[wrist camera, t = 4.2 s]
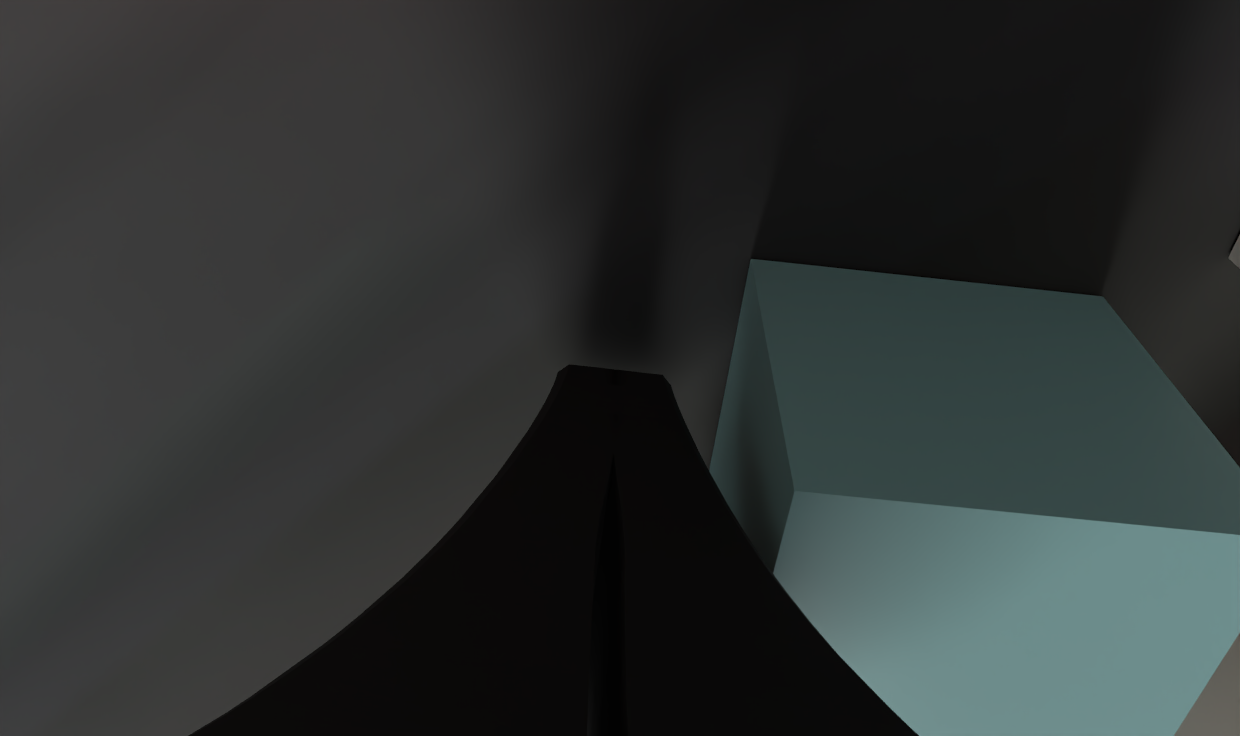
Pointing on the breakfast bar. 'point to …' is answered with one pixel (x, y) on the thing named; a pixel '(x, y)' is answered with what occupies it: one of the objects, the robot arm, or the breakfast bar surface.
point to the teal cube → (982, 500)
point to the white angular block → (1218, 675)
